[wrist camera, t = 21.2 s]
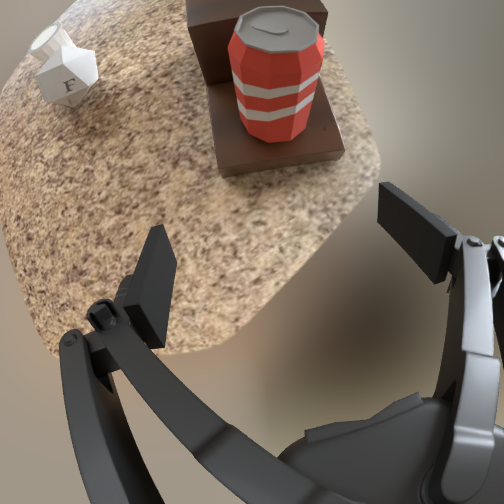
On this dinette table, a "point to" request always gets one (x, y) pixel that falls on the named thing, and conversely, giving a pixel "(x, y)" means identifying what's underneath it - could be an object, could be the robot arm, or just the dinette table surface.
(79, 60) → the die
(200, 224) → the dinette table surface
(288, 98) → the beverage can
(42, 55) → the shot glass
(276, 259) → the dinette table surface
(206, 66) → the wooden l-shaped step
